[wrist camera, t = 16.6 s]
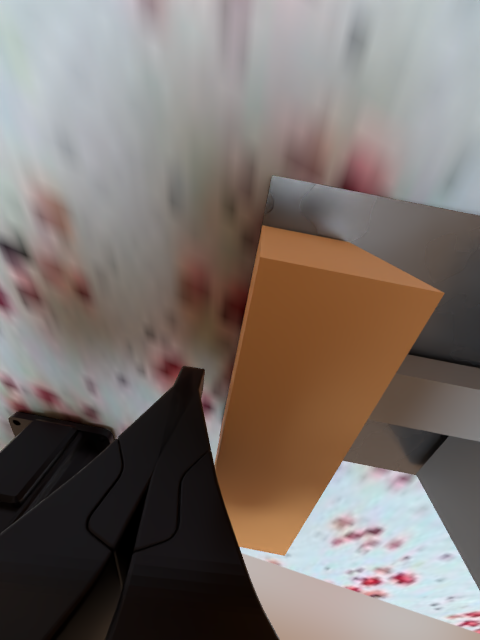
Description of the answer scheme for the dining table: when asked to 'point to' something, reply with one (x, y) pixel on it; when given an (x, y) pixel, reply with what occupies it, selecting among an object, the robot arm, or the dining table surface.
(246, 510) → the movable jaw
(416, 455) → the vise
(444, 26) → the dining table surface
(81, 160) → the dining table surface
